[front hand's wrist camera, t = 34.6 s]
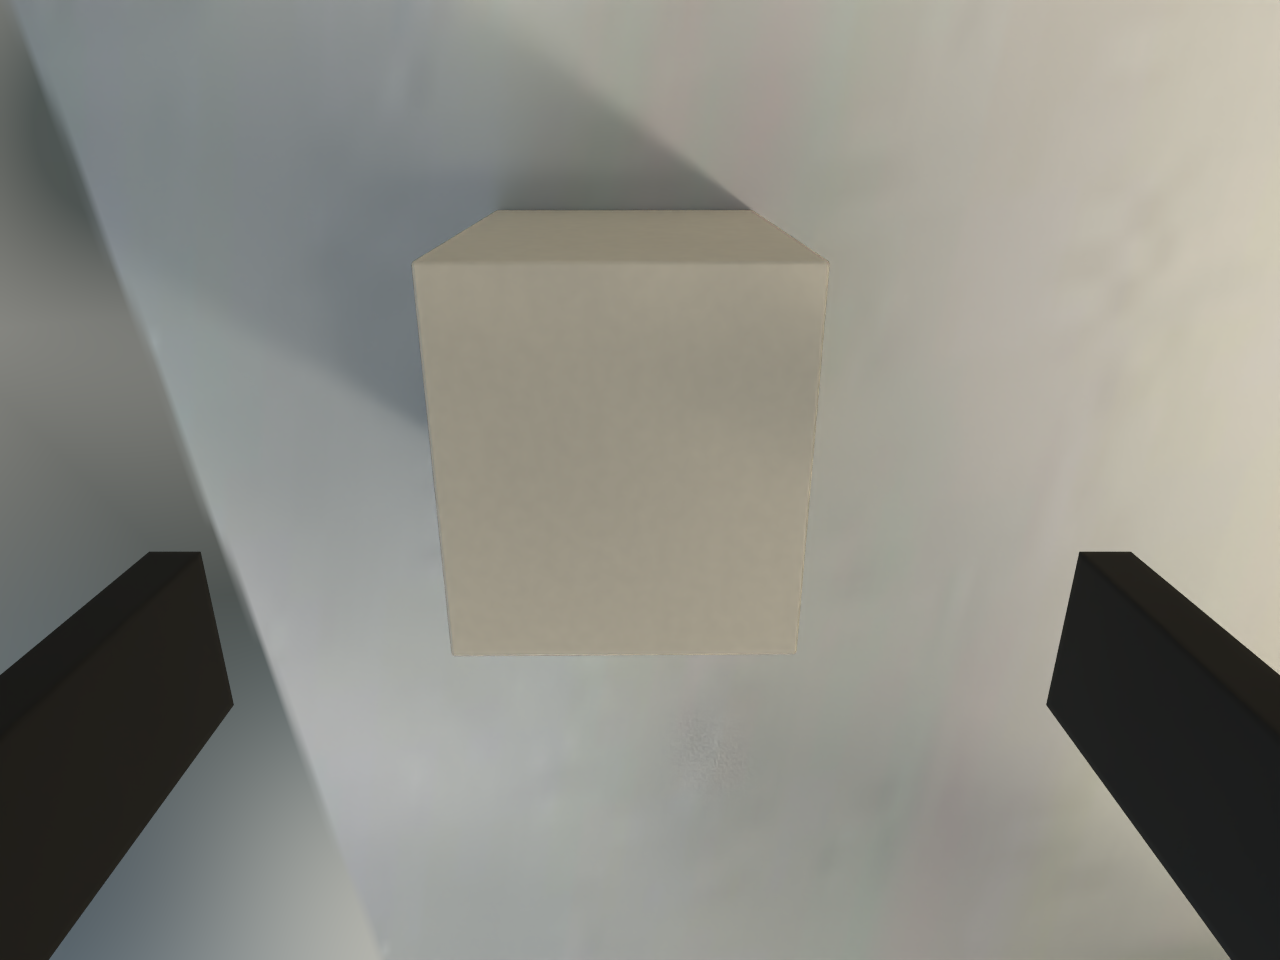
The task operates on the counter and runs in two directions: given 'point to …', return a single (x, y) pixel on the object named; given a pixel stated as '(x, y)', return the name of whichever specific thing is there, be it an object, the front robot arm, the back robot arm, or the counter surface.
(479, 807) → the counter surface
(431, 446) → the brick
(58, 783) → the front robot arm
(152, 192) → the counter surface
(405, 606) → the counter surface
